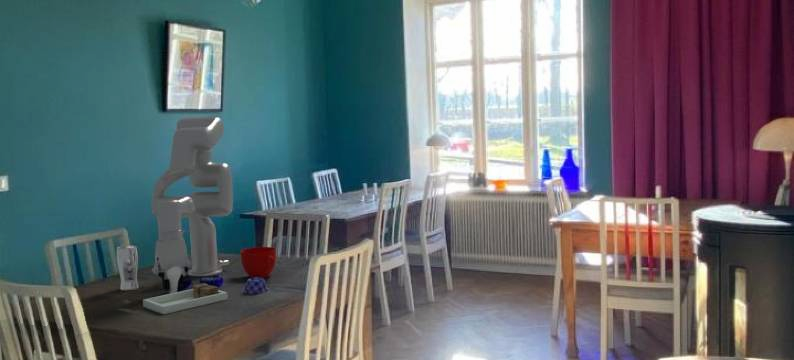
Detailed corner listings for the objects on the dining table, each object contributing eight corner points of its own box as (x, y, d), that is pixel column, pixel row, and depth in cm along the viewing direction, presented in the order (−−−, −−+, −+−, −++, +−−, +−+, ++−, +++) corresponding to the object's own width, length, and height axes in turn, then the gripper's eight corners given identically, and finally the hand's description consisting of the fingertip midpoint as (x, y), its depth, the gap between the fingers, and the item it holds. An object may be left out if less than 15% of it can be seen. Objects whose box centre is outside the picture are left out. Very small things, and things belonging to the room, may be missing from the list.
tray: (206, 294, 241) (205, 286, 240) (227, 301, 231) (227, 292, 230) (143, 308, 225) (142, 299, 225) (163, 316, 215) (163, 307, 215)
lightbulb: (186, 293, 244) (184, 261, 243) (175, 297, 238) (173, 265, 237) (171, 292, 246) (169, 260, 245) (160, 296, 240) (158, 264, 239)
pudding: (237, 291, 245) (236, 276, 244) (272, 288, 248) (271, 273, 247) (239, 300, 233) (238, 284, 233) (275, 296, 236) (275, 281, 236)
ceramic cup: (258, 284, 254) (257, 256, 253) (235, 277, 266) (233, 250, 266) (289, 277, 262) (288, 250, 261) (265, 271, 275) (264, 245, 274)
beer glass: (132, 291, 250) (129, 249, 248) (115, 290, 251) (111, 248, 250) (143, 286, 257) (140, 245, 255) (126, 286, 258) (123, 245, 257)
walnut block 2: (210, 297, 234) (209, 285, 233) (218, 298, 231) (217, 286, 231) (200, 300, 231) (200, 288, 230) (208, 301, 228) (208, 289, 228)
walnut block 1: (205, 294, 237) (204, 283, 237) (209, 297, 234) (209, 285, 234) (193, 297, 235) (192, 285, 235) (198, 299, 232) (197, 287, 232)
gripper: (188, 231, 249) (191, 282, 251) (141, 238, 237) (145, 291, 239) (198, 233, 244) (202, 285, 245) (151, 240, 232) (155, 295, 234)
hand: (173, 288), depth 242 cm, fingers closed on lightbulb, 4 cm apart
